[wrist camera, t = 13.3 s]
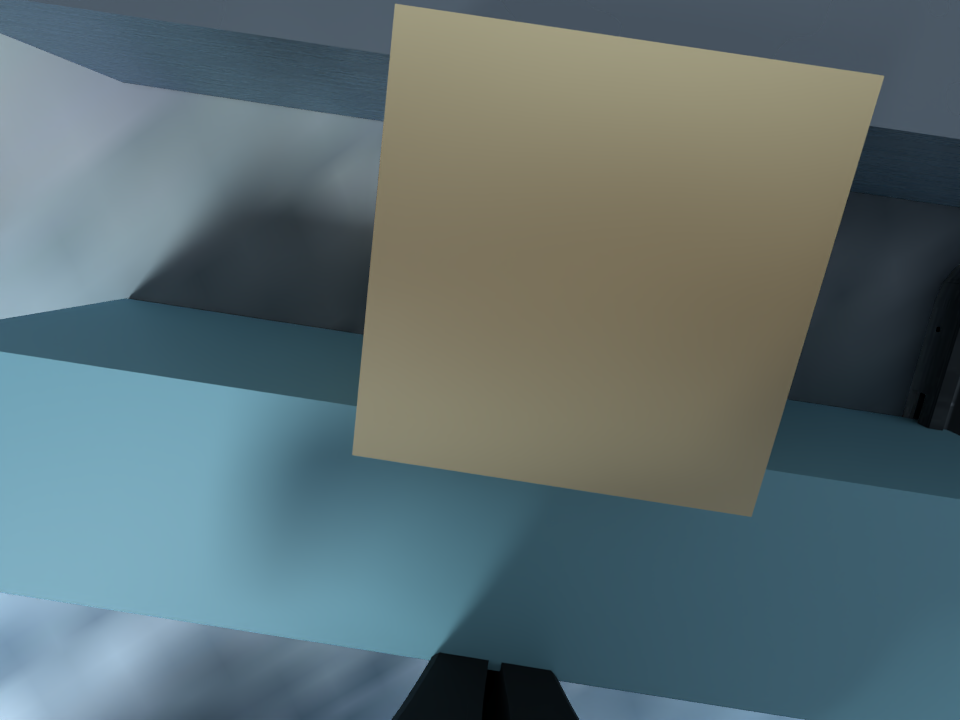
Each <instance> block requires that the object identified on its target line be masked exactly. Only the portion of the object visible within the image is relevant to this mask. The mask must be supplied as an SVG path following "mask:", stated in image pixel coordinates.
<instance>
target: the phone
mask: <svg viewBox="0 0 960 720" xmlns="http://www.w3.org/2000/svg"><path fill="white" fill-rule="evenodd" d="M936 327H941V329H940V332H935V331H936ZM920 392H921V393H923V394H926V396H925V399H924V403H923V406H922V409H921V413H920V416H919V419H918V423H917V424H920V425H922V426H924V427H926V428H928V429H934V430H941V431H943V429H945V430H948V431H950V432H953V433H955V434H957V435H959V436H960V265H958V266H957V267H956V268H955V269H954V270H953V271H952V272H951V274H950V275H949V276H948V277H947V278H946V280H945V281H944V282H943V284H942V286H941V288H940V290H939V293H938V295H937V297H936V299H935V303H934V306H933V310H932V313H931V317H930V320H929V324H928V327H927V331H926V334H925V338H924V341H923V345H922V348H921V352H920V355H919V359H918V362H917V366H916V369H915V373H914V376H913V380H912V383H911V387H910V390H909V394H908V397H907V401H906V404H905V408H904V411H903V415H902V417H904V418H910V419H913V416H914V413H915V409H916V406H917V402H918V399H919V396H920Z"/></svg>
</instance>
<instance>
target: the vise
mask: <svg viewBox="0 0 960 720" xmlns="http://www.w3.org/2000/svg"><path fill="white" fill-rule="evenodd" d="M395 4H401V5H408V6H415V7H421V8H428V9H435V10H442V11H448V12H455V13H462V14H469V15H476V16H482V17H489V18H496V19H503V20H509V21H516V22H523V23H530V24H537V25H543V26H550V27H557V28H564V29H571V30H577V31H584V32H591V33H598V34H604V35H611V36H618V37H625V38H632V39H638V40H645V41H652V42H659V43H665V44H672V45H679V46H686V47H693V48H699V49H706V50H713V51H720V52H726V53H733V54H740V55H747V56H754V57H760V58H767V59H774V60H781V61H788V62H794V63H801V64H808V65H815V66H821V67H828V68H835V69H842V70H849V71H855V72H862V73H869V74H876V75H882V76H884V79H883V82H882V86H881V89H880V92H879V96H878V99H877V102H876V105H875V109H874V112H873V115H872V119H871V122H870V125H869V129H868V132H867V135H866V139H865V142H864V145H863V149H862V152H861V155H860V159H859V162H858V165H857V169H856V172H855V175H854V178H853V182H852V185H851V188H850V191H853V192H860V193H867V194H874V195H880V196H887V197H894V198H900V199H907V200H914V201H920V202H927V203H934V204H940V205H947V206H954V207H960V0H0V33H1V34H4V35H6V36H9V37H11V38H14V39H16V40H19V41H21V42H24V43H26V44H29V45H31V46H34V47H36V48H39V49H41V50H44V51H46V52H49V53H51V54H54V55H56V56H58V57H61V58H63V59H66V60H68V61H71V62H73V63H76V64H78V65H81V66H83V67H86V68H88V69H91V70H93V71H96V72H98V73H101V74H103V75H106V76H108V77H111V78H113V79H116V80H118V81H121V82H124V83H130V84H137V85H144V86H151V87H157V88H164V89H171V90H177V91H184V92H191V93H197V94H204V95H211V96H218V97H224V98H231V99H238V100H244V101H251V102H258V103H264V104H271V105H278V106H284V107H291V108H298V109H305V110H311V111H318V112H325V113H331V114H338V115H345V116H351V117H358V118H365V119H371V120H378V121H384V114H385V104H386V93H387V82H388V72H389V61H390V51H391V40H392V30H393V19H394V9H395Z"/></svg>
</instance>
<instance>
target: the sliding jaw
mask: <svg viewBox="0 0 960 720" xmlns="http://www.w3.org/2000/svg"><path fill="white" fill-rule="evenodd" d="M362 346H363V335H362V334H356V333H349V332H343V331H336V330H330V329H323V328H316V327H310V326H303V325H297V324H290V323H284V322H277V321H271V320H264V319H258V318H251V317H245V316H238V315H231V314H225V313H218V312H212V311H205V310H199V309H192V308H186V307H179V306H173V305H166V304H160V303H153V302H146V301H140V300H133V299H127V298H126V299H120V300H114V301H108V302H102V303H96V304H90V305H84V306H78V307H72V308H66V309H60V310H54V311H48V312H42V313H36V314H30V315H24V316H18V317H12V318H6V319H0V592H1V593H7V594H13V595H20V596H26V597H32V598H39V599H45V600H51V601H58V602H64V603H70V604H77V605H83V606H89V607H96V608H102V609H108V610H115V611H121V612H127V613H134V614H140V615H146V616H153V617H159V618H165V619H172V620H178V621H184V622H191V623H197V624H203V625H210V626H216V627H222V628H229V629H235V630H241V631H248V632H254V633H260V634H267V635H273V636H279V637H286V638H292V639H298V640H305V641H311V642H317V643H324V644H330V645H336V646H343V647H349V648H355V649H362V650H368V651H374V652H381V653H387V654H393V655H400V656H406V657H412V658H419V659H425V660H430V659H431V657H432V656H434V655H436V654H437V653H439V652H441V653H447V654H453V655H459V656H466V657H472V658H478V659H484V660H489V663H488V670H494V671H500V668H501V663H502V662H503V663H509V664H515V665H522V666H528V667H534V668H540V669H546V670H551V671H552V672H553V673H554V674H555V676H556V677H557V679H558V681H564V682H570V683H577V684H583V685H589V686H596V687H602V688H608V689H615V690H621V691H627V692H634V693H640V694H646V695H653V696H659V697H665V698H672V699H678V700H684V701H691V702H697V703H703V704H710V705H716V706H722V707H729V708H735V709H741V710H748V711H754V712H760V713H767V714H773V715H779V716H786V717H792V718H798V719H805V720H960V436H959V435H957V434H955V433H953V432H950V431H948V430H945V429H943V431H941V430H934V429H928V428H926V427H924V426H922V425H920V424H917V423H918V419H910V418H904V417H899V416H892V415H886V414H879V413H872V412H866V411H859V410H853V409H846V408H840V407H833V406H827V405H820V404H814V403H807V402H800V401H794V400H787V401H786V404H785V407H784V411H783V414H782V417H781V421H780V424H779V427H778V431H777V434H776V437H775V441H774V444H773V447H772V451H771V454H770V457H769V461H768V464H767V467H766V470H765V474H764V477H763V480H762V484H761V487H760V490H759V494H758V497H757V500H756V504H755V507H754V510H753V514H752V517H749V516H742V515H736V514H729V513H723V512H716V511H710V510H704V509H697V508H691V507H684V506H678V505H671V504H665V503H658V502H652V501H645V500H639V499H632V498H626V497H620V496H613V495H607V494H600V493H594V492H587V491H581V490H574V489H568V488H561V487H555V486H548V485H542V484H536V483H529V482H523V481H516V480H510V479H503V478H497V477H490V476H484V475H477V474H471V473H465V472H458V471H452V470H445V469H439V468H432V467H426V466H419V465H413V464H406V463H400V462H393V461H387V460H381V459H374V458H368V457H361V456H355V455H352V451H353V441H354V430H355V420H356V409H357V399H358V388H359V378H360V367H361V357H362Z"/></svg>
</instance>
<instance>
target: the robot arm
mask: <svg viewBox="0 0 960 720" xmlns="http://www.w3.org/2000/svg"><path fill="white" fill-rule="evenodd" d="M488 663H489V660H484V659H478V658H472V657H466V656H459V655H453V654H447V653H441V652H439V653H437V654H436V655H434V656H432V657H431V659H430V661H429V663H428V665H427V666H426V668H425V670H424V671H423V673H422V675H421V676H420V678H419V679H418V681H417V682H416V684H415V686H414V687H413V689H412V690H411V692H410V693H409V695H408V697H407V698H406V700H405V701H404V703H403V704H402V706H401V707H400V709H399V710H398V711H397V713H396V714H395V716H394V717H393V718H392V720H579V718H578V716H577V715H576V713H575V711H574V709H573V708H572V706H571V704H570V702H569V700H568V698H567V696H566V695H565V693H564V691H563V689H562V687H561V685H560V683H559V681H558V679H557V677H556V676H555V674H554V673H553V672H552V671H551V670H546V669H540V668H534V667H528V666H522V665H515V664H509V663H503V662H502V663H501V668H500V671H494V670H488Z"/></svg>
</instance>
